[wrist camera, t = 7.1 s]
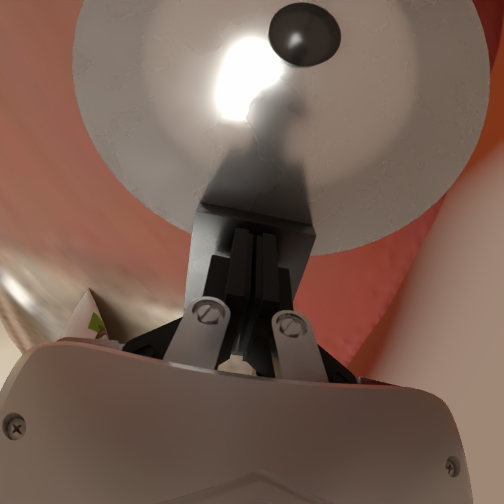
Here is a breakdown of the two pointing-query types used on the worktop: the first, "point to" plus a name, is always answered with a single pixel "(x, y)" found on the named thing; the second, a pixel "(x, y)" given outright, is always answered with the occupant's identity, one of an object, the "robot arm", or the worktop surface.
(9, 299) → the worktop surface
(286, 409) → the robot arm
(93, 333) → the pouch
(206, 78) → the cooker lid
